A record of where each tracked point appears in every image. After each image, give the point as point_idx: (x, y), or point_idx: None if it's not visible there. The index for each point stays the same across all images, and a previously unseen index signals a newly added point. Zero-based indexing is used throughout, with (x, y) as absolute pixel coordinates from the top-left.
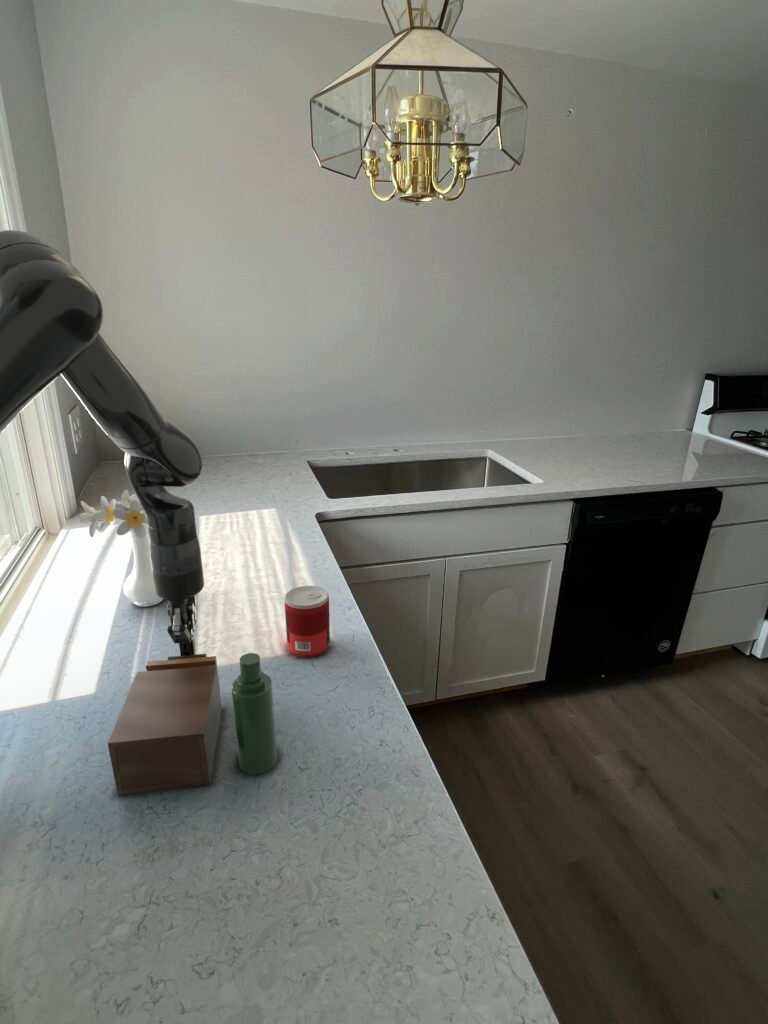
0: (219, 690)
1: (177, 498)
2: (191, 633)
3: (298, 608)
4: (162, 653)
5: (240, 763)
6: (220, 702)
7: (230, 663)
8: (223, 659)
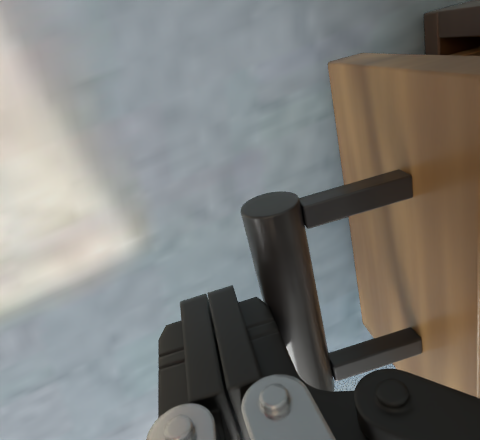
0: (343, 59)
1: None
2: (328, 431)
3: None
4: (55, 430)
5: None
6: (468, 6)
7: (43, 106)
8: (18, 160)
